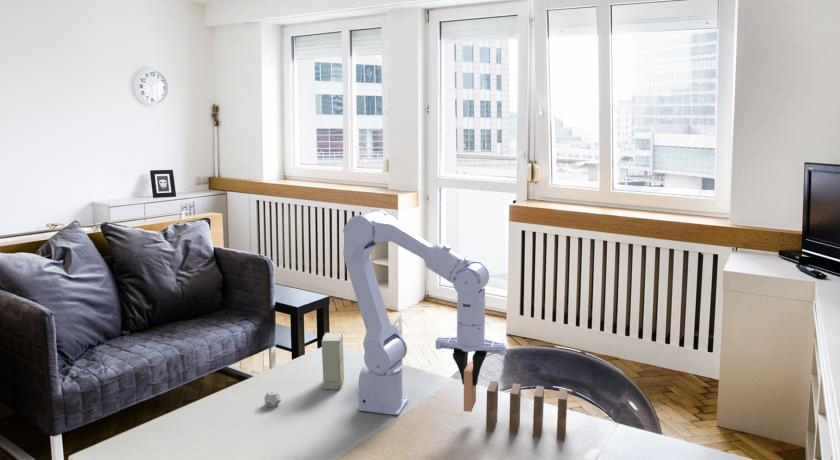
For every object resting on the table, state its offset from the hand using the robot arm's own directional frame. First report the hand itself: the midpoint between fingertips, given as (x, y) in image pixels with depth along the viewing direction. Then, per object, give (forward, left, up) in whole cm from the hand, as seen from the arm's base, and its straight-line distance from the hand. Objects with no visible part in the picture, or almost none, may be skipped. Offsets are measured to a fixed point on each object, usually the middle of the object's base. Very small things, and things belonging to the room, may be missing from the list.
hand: (470, 383), depth 140 cm
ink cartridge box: (-25, +21, -9) cm, 34 cm away
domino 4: (+19, 0, -9) cm, 21 cm away
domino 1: (+5, 0, -9) cm, 10 cm away
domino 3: (+14, 0, -9) cm, 17 cm away
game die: (-45, -3, -9) cm, 46 cm away
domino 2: (+10, 0, -9) cm, 13 cm away
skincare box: (-36, +11, -9) cm, 38 cm away
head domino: (0, 0, -5) cm, 5 cm away
